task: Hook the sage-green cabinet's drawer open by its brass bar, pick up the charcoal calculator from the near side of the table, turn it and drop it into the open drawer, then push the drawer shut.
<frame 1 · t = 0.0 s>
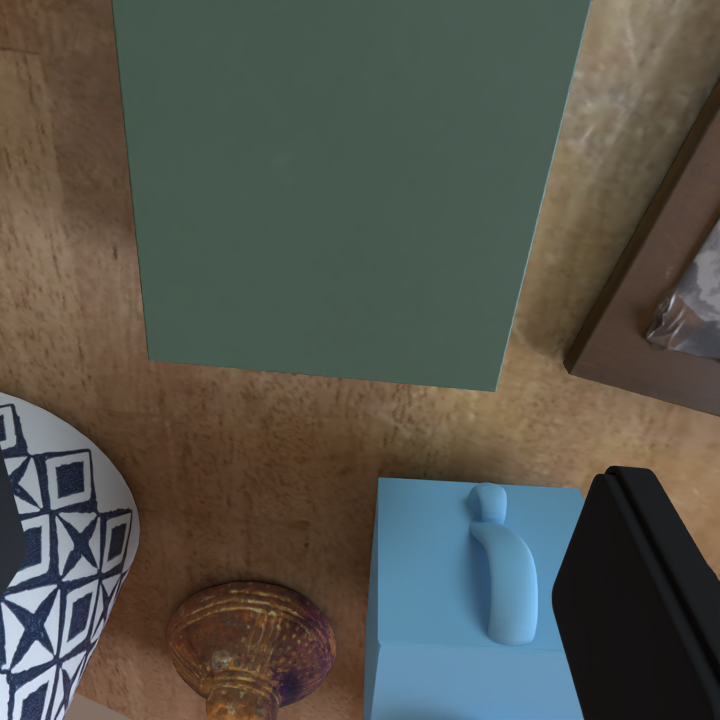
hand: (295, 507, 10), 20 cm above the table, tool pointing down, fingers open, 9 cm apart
teapot: (455, 558, 39), on the table
cabinet: (349, 121, 26), on the table
bell: (255, 629, 44), on the table
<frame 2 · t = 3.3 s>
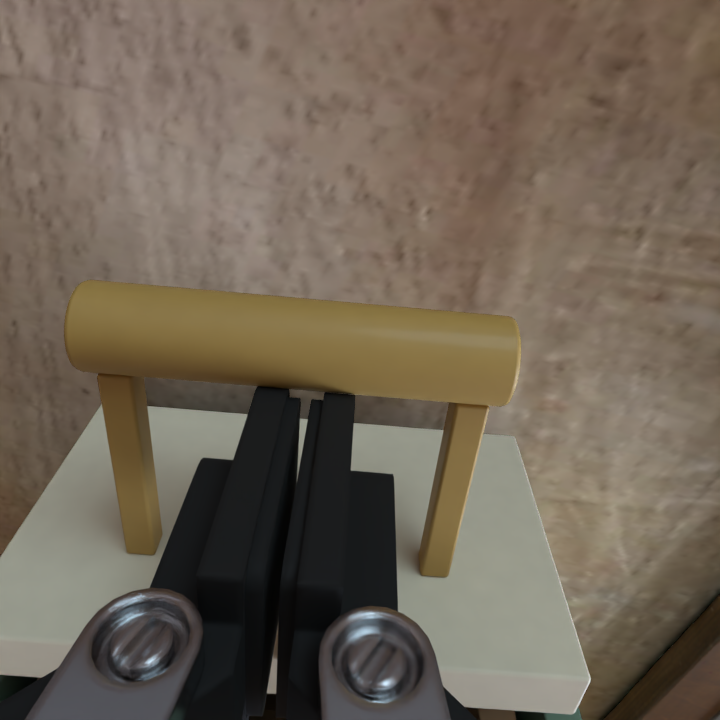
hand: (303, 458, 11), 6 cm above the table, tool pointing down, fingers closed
cabinet: (301, 609, 22), on the table
drawer: (291, 617, 16), point 4 cm above the table, slide at 1.0 cm, touching gripper
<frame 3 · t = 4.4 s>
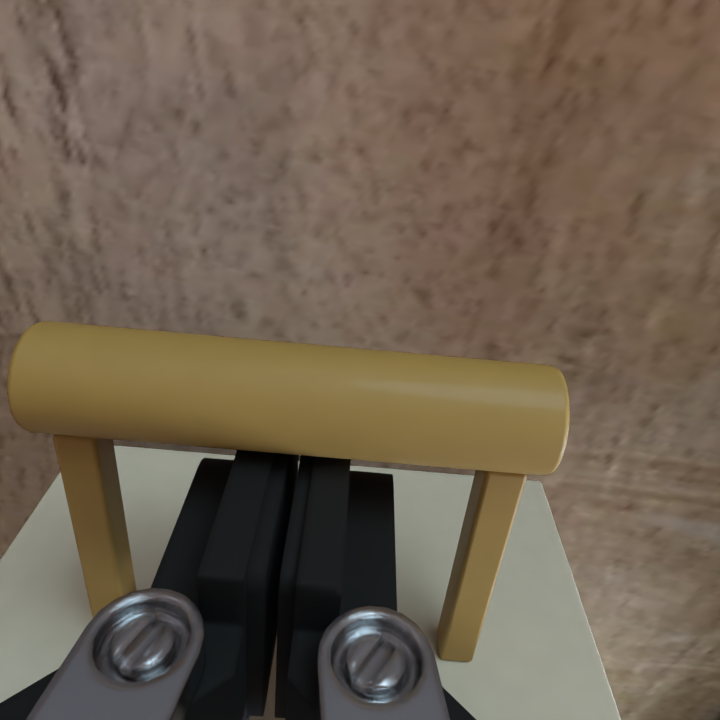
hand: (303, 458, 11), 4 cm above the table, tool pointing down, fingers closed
drawer: (290, 689, 14), point 4 cm above the table, slide at 6.6 cm, touching gripper
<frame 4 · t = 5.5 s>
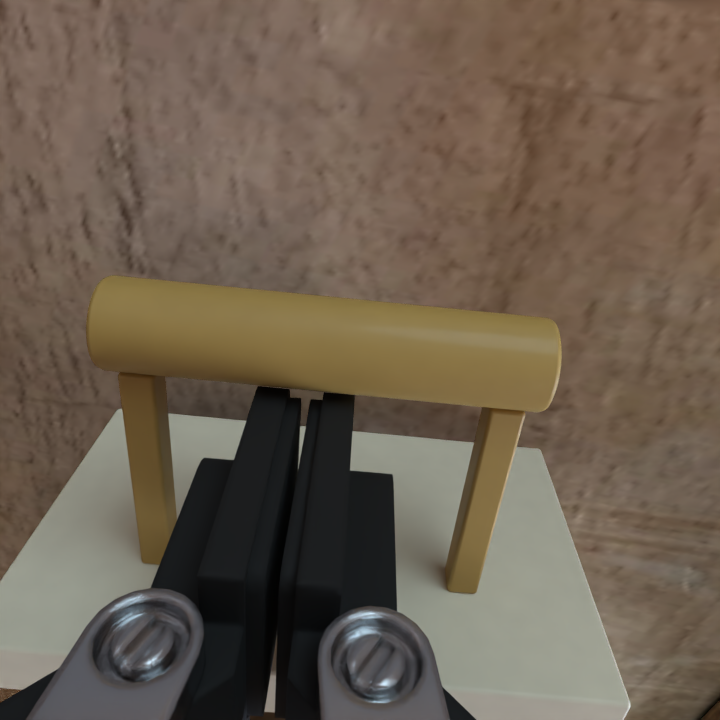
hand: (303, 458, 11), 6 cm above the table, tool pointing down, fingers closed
drawer: (308, 634, 15), point 4 cm above the table, slide at 9.6 cm
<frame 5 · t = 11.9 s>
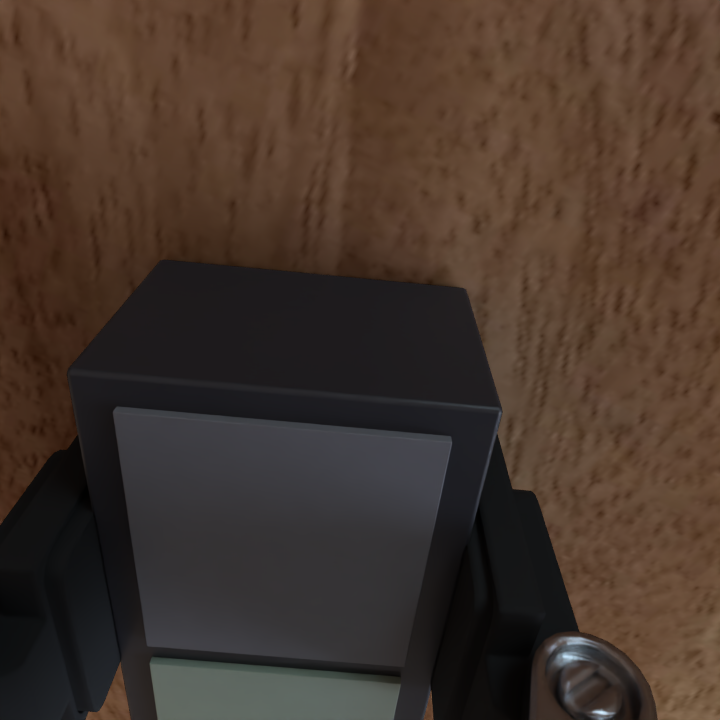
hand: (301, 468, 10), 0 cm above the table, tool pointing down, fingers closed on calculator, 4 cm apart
calculator: (304, 454, 11), on the table, touching gripper
when the fingers open (8 cm above the table, at t = 20.1 s): calculator drops 6 cm, resting on drawer.
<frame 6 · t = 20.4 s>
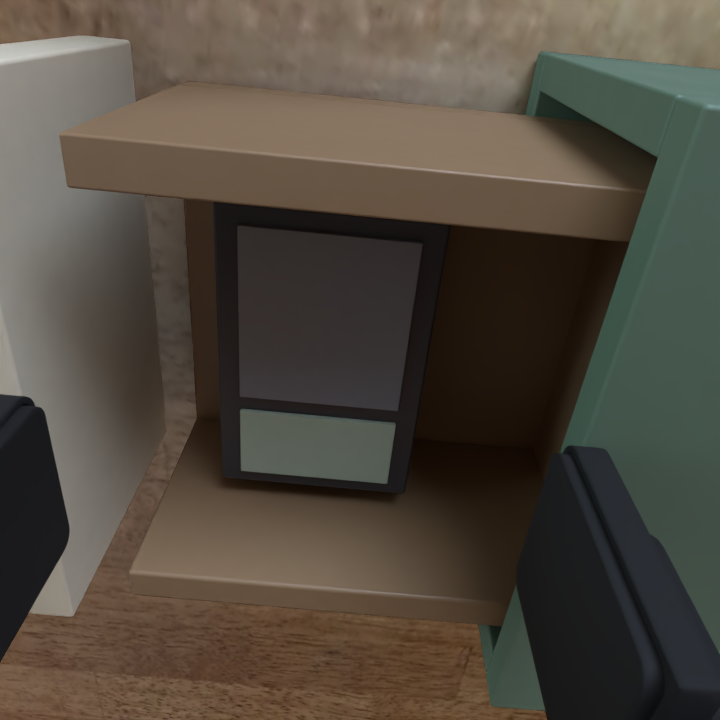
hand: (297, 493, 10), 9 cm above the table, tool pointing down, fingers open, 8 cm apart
drawer: (216, 338, 14), point 4 cm above the table, slide at 9.6 cm, touching calculator
calculator: (332, 305, 16), point 2 cm above the table, touching drawer
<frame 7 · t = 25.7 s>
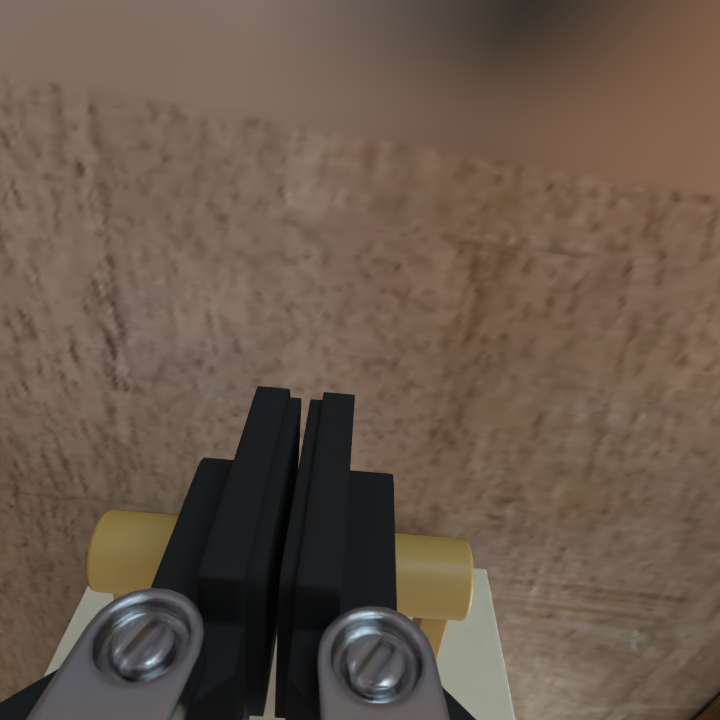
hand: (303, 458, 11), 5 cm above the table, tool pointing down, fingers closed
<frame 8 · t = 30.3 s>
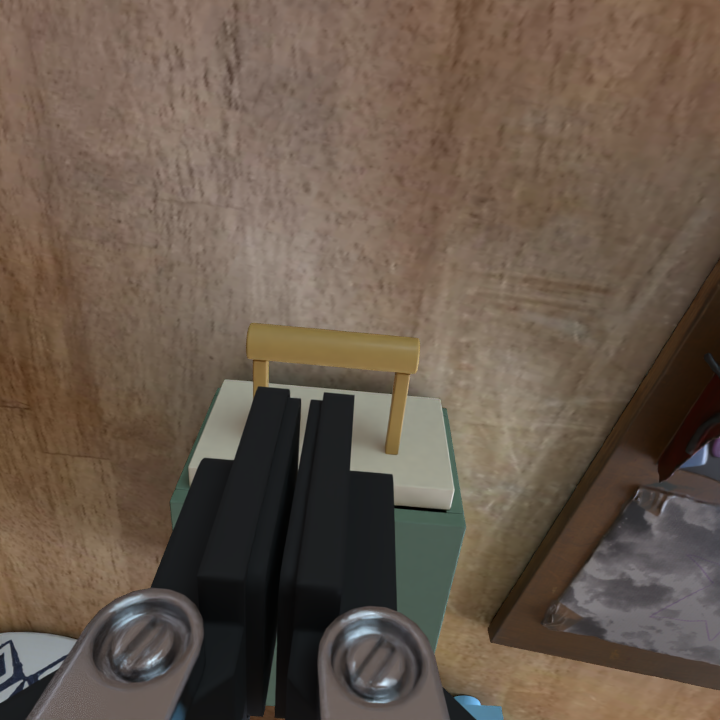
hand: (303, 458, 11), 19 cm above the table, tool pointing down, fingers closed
planter: (59, 693, 49), on the table
cabinet: (324, 496, 37), on the table
drawer: (323, 488, 31), point 4 cm above the table, slide at 0.0 cm, touching cabinet, calculator
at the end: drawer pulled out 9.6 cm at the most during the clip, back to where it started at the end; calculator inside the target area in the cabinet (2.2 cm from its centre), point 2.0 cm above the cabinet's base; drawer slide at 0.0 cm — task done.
